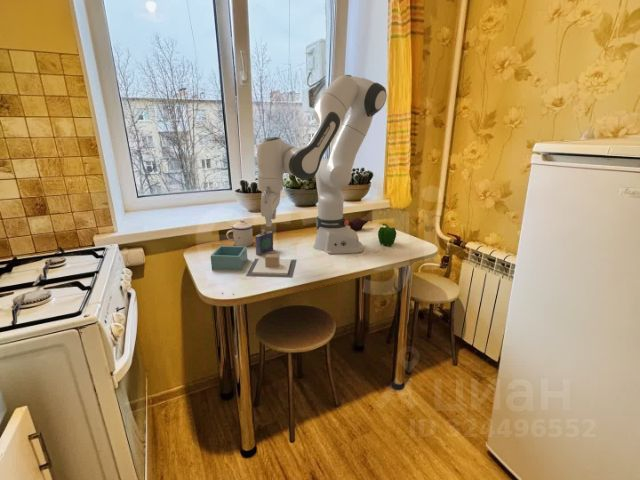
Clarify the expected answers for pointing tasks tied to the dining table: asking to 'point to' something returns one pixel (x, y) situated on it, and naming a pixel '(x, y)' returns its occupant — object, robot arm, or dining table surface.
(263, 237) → the flask
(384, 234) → the bell pepper
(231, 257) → the teal open box
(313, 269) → the dining table surface
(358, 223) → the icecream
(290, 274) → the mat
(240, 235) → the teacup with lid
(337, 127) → the robot arm
